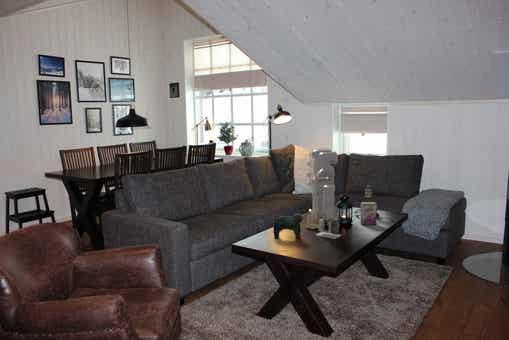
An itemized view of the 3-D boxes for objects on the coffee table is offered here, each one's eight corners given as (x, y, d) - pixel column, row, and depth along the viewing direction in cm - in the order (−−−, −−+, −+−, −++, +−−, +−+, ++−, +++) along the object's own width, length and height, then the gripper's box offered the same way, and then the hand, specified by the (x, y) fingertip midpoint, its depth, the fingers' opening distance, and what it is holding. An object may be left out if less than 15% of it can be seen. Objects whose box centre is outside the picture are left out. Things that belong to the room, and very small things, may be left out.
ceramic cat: (303, 237, 290) (302, 208, 287) (302, 240, 284) (302, 210, 281) (274, 236, 293) (273, 208, 290) (273, 239, 287) (272, 210, 284)
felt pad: (315, 235, 293) (315, 234, 293) (322, 232, 300) (322, 231, 300) (335, 239, 284) (335, 238, 284) (341, 235, 291) (341, 235, 291)
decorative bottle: (387, 218, 331) (388, 187, 327) (362, 221, 326) (363, 189, 322) (373, 212, 352) (373, 182, 348) (349, 214, 347) (350, 184, 344)
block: (319, 231, 294) (319, 219, 292) (322, 229, 297) (322, 218, 296) (334, 234, 286) (334, 222, 285) (338, 232, 290) (338, 220, 289)
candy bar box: (361, 225, 315) (361, 203, 312) (360, 223, 320) (360, 202, 317) (376, 225, 314) (377, 203, 311) (375, 223, 319) (375, 202, 316)
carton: (306, 227, 311) (306, 216, 310) (317, 223, 323) (317, 211, 321) (328, 232, 299) (328, 219, 298) (339, 227, 311) (339, 215, 309)
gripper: (330, 200, 298) (330, 225, 300) (317, 205, 285) (317, 231, 287) (339, 201, 293) (339, 227, 295) (327, 206, 280) (327, 233, 283)
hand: (328, 229), depth 291 cm, fingers closed on block, 5 cm apart
